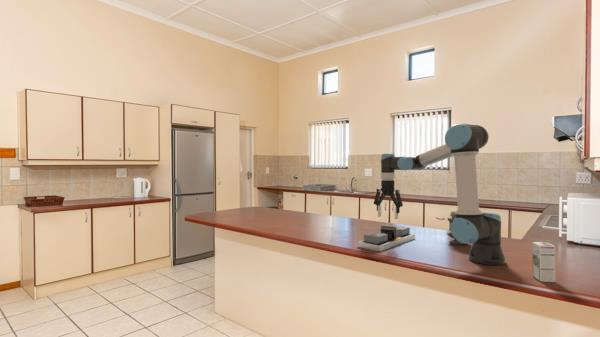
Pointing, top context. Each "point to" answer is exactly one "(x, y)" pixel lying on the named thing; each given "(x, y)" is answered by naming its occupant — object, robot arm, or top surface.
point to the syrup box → (544, 261)
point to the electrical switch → (389, 231)
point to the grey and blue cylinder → (450, 219)
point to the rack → (385, 239)
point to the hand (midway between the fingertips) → (387, 217)
